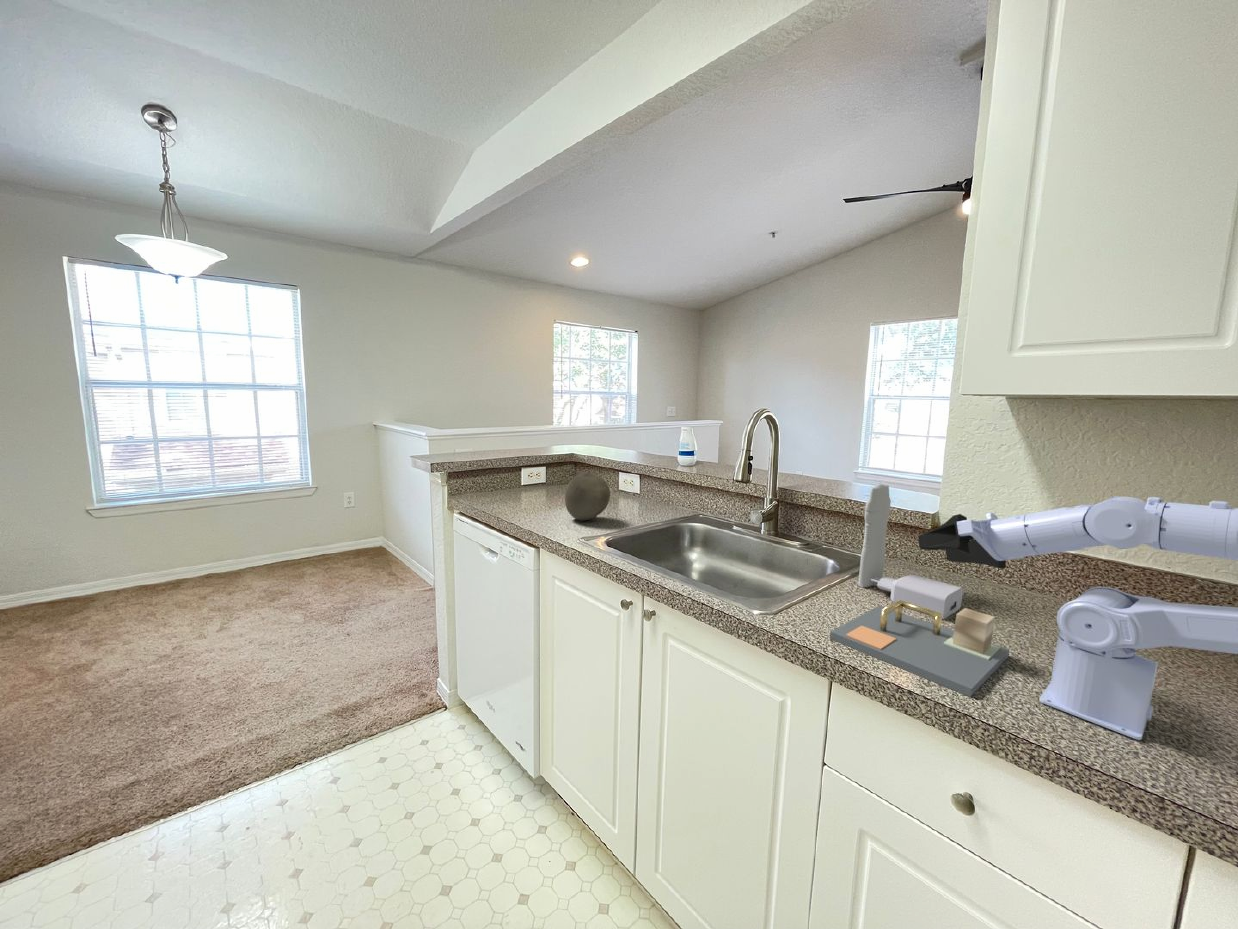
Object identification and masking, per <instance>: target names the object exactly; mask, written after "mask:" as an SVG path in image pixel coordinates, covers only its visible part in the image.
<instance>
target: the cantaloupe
mask: <svg viewBox="0 0 1238 929" xmlns="http://www.w3.org/2000/svg"><path fill="white" fill-rule="evenodd" d="M610 499H611V491H610V488H609V485H608V482H606V481H605V479H604V478H602V477H601V476H600V475H598V474H595V473H592V472H584V473H579V474H577V475H575V476H574V477H573V478H572V479H570V481H569V482H568V484H567V486H566V488H565V491H564V503H565V507H566V508H565V509H566V511H567V512H568V513H569V515H570V516H571V517H572V518H573V519H576V520H578V521H584V522H585V521H589V520H592V519H595V518H597V517H598V516H599V515H601V514H602V513H603V512H604V511H605V510H606V508H607V506H608V505H609V503H610Z"/></svg>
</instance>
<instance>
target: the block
mask: <svg viewBox="0 0 1238 929" xmlns="http://www.w3.org/2000/svg"><path fill="white" fill-rule="evenodd" d="M955 615H956V617H955V621H954V622H955V623H954V637H953V644H955V645H958V646H960V647H963V648H966V649H969V650H972V651H975V652H977V653H980V654H983V653H984V652H986V651H987V650H988V649H989V648H990V647H991V643H992V639H993V632H994V626H995V618H996V617H995V616H993V615H990V614H987V613H983V612H979V611H977V610H974V609H970V608H967V607H964V608H962V609H961V610H959V612H957V613H956V614H955Z"/></svg>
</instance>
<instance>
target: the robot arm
mask: <svg viewBox="0 0 1238 929" xmlns="http://www.w3.org/2000/svg"><path fill="white" fill-rule="evenodd" d="M985 518H986V519H982V520H974V519H971V518H970V519H967V517H966V516H964V515H963V514H961V513H959V514H955V515H954V514H953V515H952V516H951V517H950V518H949V519H948V520H947V521H946V522H944V523H942V524H941V525H939V526H937V527H936V528H933V529H931V530H928V531H926V532H924V533H923V534H919V535H918V536H917V538H918V546H919V549H921V550H925V551H945V554H946V555H945V556H946V561H947V562H952V563H966V564H979V565H984V566H989V567H993V568H997V569H1001V570H1003V569H1006V567H1007V563H1006V561H1008V560H1009V561H1010V560H1011V561H1012V560H1020V559H1025V557H1031V556H1034V557H1035V556H1040V555H1041V556H1042V555H1048V554H1055V553H1056V554H1058V553H1065V552H1075V551H1082V550H1085V549H1086V548H1092V547H1093V548H1095V547H1102V546H1103V547H1104V546H1109V547H1110V546H1111V547H1114V548H1116V549H1119V550H1128V549H1132V548H1136V547H1138V546H1141V545H1142V544H1144V545H1146V546H1149V547H1150V548H1153V549H1156V550H1162V551H1168V552H1174V553H1181V554H1189V555H1196V556H1204V557H1209V558H1218V559H1224V560H1231V561H1238V507H1230V502H1229V501H1222V500H1212V501H1210V502H1209V505H1204V504H1193V503H1180V502H1171V501H1169V502H1168V501H1163V499H1162V497H1157V496H1149V497H1148V498H1147V500H1146V502H1145V501H1144V500H1143V499H1140V498H1137V497H1131V496H1120V495H1116V496H1112V497H1109V498H1107V499H1105V500H1104V501H1101V502H1099V503H1097V504H1080V505H1076V506H1074V507H1070V506H1065V507H1064V506H1063V507H1059V508H1053V509H1048V510H1043V511H1037V512H1032V513H1031V512H1030V513H1026V514H1021V515H1016V516H1010V517H1003V518H998V516H997V515H996V514H995V513H993V512H987V513H986V514H985ZM1056 623H1057V628H1058V629H1059V630H1058V634H1057V642H1056V648H1055V651H1054V652H1055V654H1054V660H1053V665H1052V673H1051V679H1050V682H1049V684H1048V685H1047V686H1046V688H1045V690H1044V691H1043V692H1042V693H1041V695H1040V697H1039V702H1040V703H1042V704H1044V705H1046V706H1049V707H1052V708H1054V709H1056V710H1060V711H1062V712H1064V713H1068V714H1070V715H1073V716H1075V717H1078V718H1079V719H1083V720H1085V721H1088V722H1091V723H1093V724H1096V725H1097V726H1100V727H1103V728H1106V729H1109V730H1111V731H1114V732H1116V733H1118V734H1119V733H1120V735H1121V734H1122V735H1124V736H1127V737H1129V738H1132V739H1135V740H1137V741H1140V740H1141V741H1142V740H1143V735H1144V732H1145V728H1146V725H1147V722H1148V721H1149V722H1150V721H1152V717H1153V712H1154V706H1152V705H1151V704H1152V702H1151V701H1152V696H1153V692H1154V687H1155V681H1156V675H1157V671H1158V665H1159V664H1158V662H1157V661H1155V660H1152V659H1149V658H1146V657H1145V656H1142V655H1140V654H1138V653H1136V651H1137V650H1148V649H1155V648H1164V647H1165V648H1166V647H1175V648H1176V647H1177V648H1184V649H1192V650H1193V649H1194V650H1199V651H1200V650H1202V651H1208V652H1209V651H1210V652H1217V653H1226V654H1227V653H1228V654H1234V655H1238V606H1223V605H1222V606H1221V605H1210V604H1195V603H1194V604H1193V603H1182V602H1169V601H1165V600H1162V599H1158V598H1155V597H1150V596H1140V595H1135V594H1130V593H1127V592H1124V591H1122V590H1120V589H1117V588H1114V587H1109V586H1096V587H1091V588H1088V589H1086V590H1085V591H1083V592H1082V593H1080V595H1079V596H1078V597H1076V598H1075V599H1074V600H1073V599H1072V600H1071V601H1068V602H1066V603H1064V604H1063V605H1061V607H1060V608H1059V610H1058V611H1057V614H1056Z"/></svg>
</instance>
